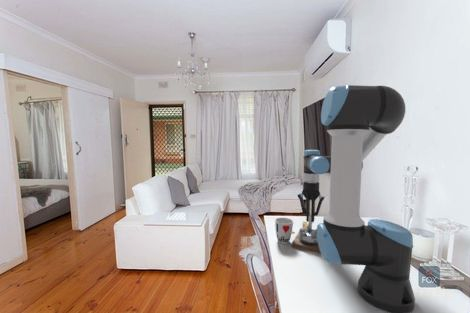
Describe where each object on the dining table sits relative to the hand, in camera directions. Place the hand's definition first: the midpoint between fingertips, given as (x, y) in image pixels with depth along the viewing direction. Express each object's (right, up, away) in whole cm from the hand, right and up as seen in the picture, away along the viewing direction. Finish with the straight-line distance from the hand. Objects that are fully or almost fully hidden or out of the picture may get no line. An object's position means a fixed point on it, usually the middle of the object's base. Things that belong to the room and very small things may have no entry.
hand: (310, 227), depth 120 cm
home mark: (-9, -3, +4) cm, 10 cm away
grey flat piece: (-2, -2, -6) cm, 7 cm away
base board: (-3, -5, -10) cm, 11 cm away
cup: (-15, -4, -7) cm, 17 cm away
